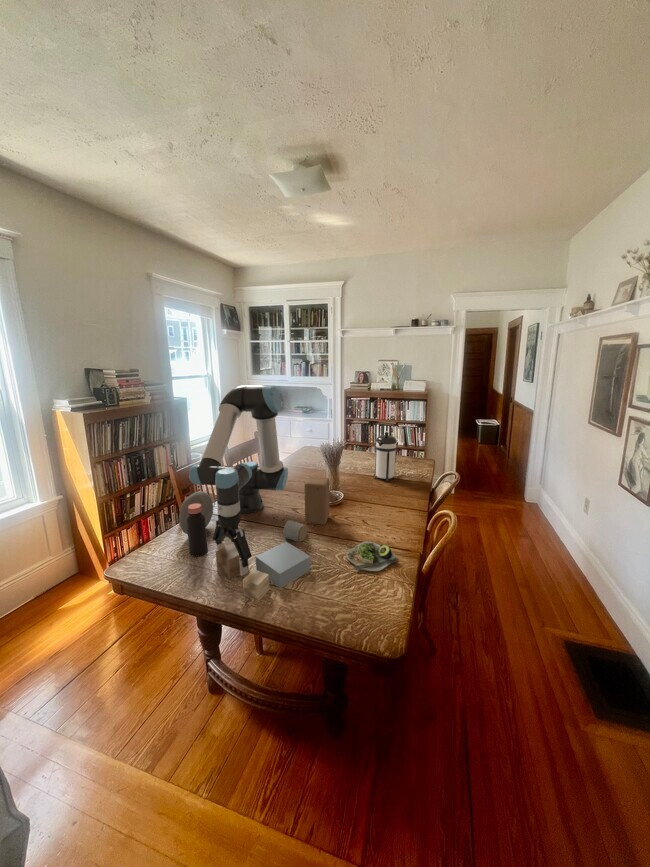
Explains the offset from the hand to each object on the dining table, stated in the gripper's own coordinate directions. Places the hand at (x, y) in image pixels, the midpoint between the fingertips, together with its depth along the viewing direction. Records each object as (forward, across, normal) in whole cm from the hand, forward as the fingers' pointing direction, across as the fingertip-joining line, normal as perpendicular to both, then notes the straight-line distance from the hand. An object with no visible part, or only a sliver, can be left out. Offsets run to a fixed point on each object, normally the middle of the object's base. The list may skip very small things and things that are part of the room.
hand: (232, 566), depth 124 cm
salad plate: (+2, +35, +40) cm, 53 cm away
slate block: (+2, +14, +12) cm, 19 cm away
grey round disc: (+2, -34, +6) cm, 35 cm away
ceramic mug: (+2, +2, +31) cm, 31 cm away
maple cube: (+2, +16, -2) cm, 16 cm away
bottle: (+2, -20, -2) cm, 20 cm away
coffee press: (+1, -6, +119) cm, 119 cm away
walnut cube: (+2, 0, 0) cm, 2 cm away
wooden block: (+2, -2, +49) cm, 49 cm away
